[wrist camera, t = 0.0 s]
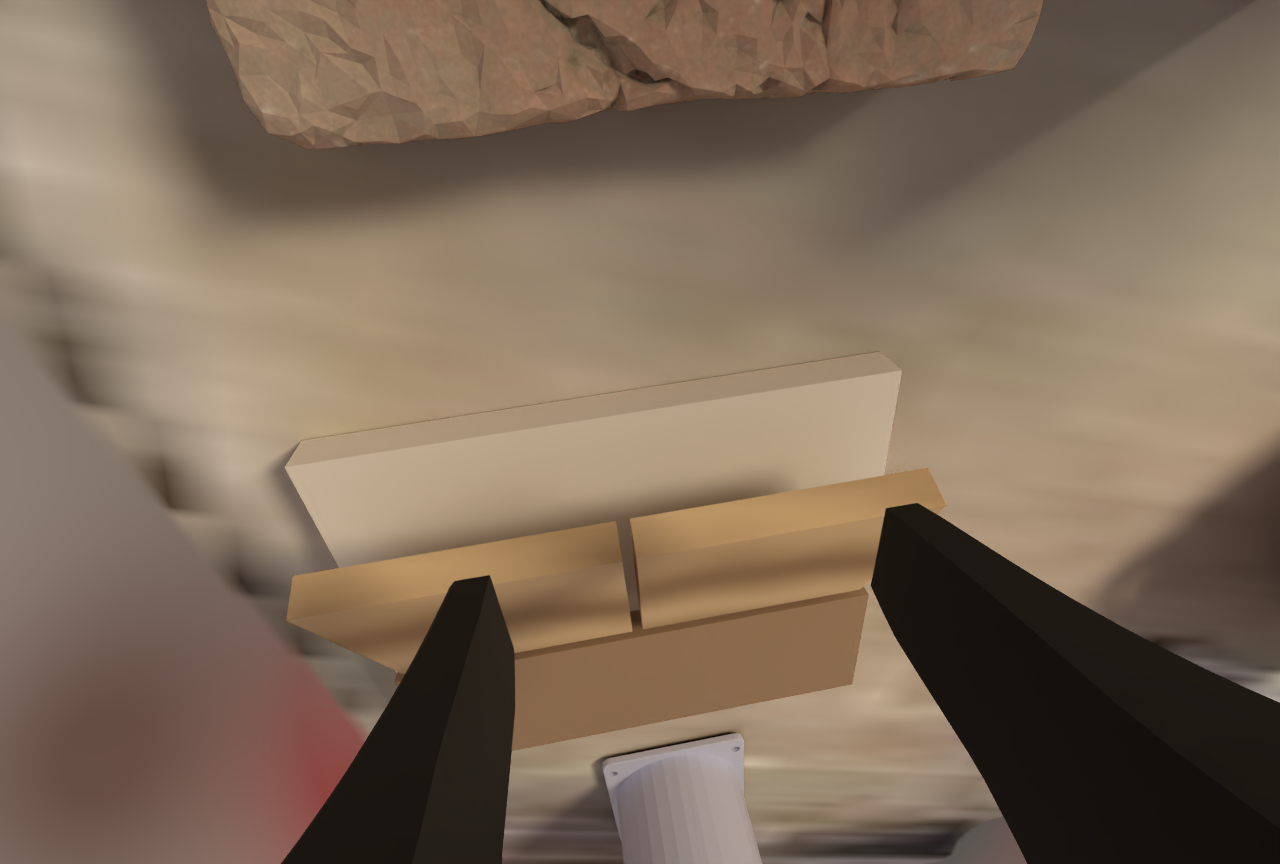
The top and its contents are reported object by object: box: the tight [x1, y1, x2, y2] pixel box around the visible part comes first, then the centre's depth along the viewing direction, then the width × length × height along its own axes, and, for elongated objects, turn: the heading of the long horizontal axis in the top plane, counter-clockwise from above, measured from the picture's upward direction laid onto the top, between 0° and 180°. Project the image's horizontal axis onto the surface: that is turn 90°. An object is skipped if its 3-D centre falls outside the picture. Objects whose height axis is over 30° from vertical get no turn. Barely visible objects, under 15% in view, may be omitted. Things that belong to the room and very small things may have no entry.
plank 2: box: [630, 468, 946, 629], centre depth 19 cm, size 8×9×1 cm
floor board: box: [285, 352, 902, 751], centre depth 23 cm, size 16×20×3 cm
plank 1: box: [286, 521, 633, 674], centre depth 19 cm, size 8×9×1 cm
